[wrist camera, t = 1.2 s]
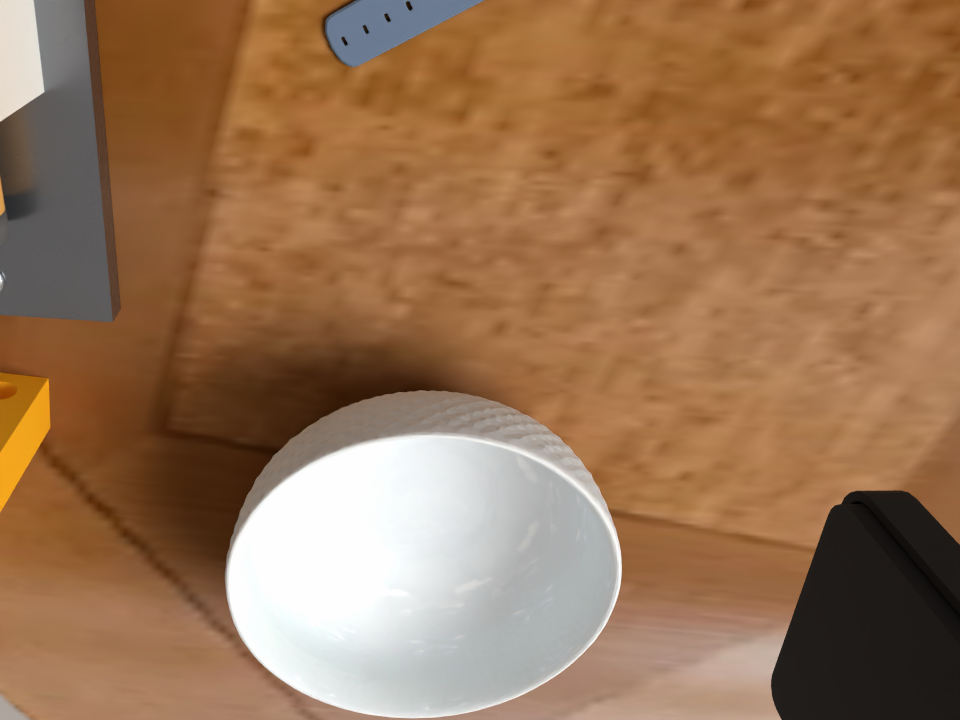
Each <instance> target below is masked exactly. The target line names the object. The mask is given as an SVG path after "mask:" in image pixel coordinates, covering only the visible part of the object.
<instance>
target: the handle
mask: <svg viewBox="0 0 960 720" xmlns="http://www.w3.org/2000/svg"><path fill="white" fill-rule="evenodd" d="M9 237H10V232H9V226H8V219H7V212H6V207H5V205H4V199H3V192H2V185H1V179H0V245H2V244H4V243H5V242H6V241H7V240H8V239H9Z"/></svg>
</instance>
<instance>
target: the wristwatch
mask: <svg viewBox="0 0 960 720" xmlns="http://www.w3.org/2000/svg"><path fill="white" fill-rule="evenodd" d="M407 1H409V2H410V4H411V6H412V9H411V10H409V9H408V7H407V6H406V2H407ZM482 1H484V0H355V1H354V2H352V3H350V4H348V5H347V6H345V7H343V8H341V9H340V10H338V11H336V12H334V13H333V14H331V15H330V16H329V17H328V18H327V19H326V24H325V34H326V36H327V39H328V41H329V44H330V46H331V48H332V50H333V51H334V53H335V54H336V55H337V57H338V58H339V59H340V61H341V62H343V63H345V64H346V65H348V66H351V67H356V66H359V65H361V64H363V63H365V62H367V61H368V60H370V59H372V58H374V57H376V56H378V55H380V54H382V53H384V52H386V51H388V50H390V49H391V48H393V47H395V46H397V45H399V44H401V43H403V42H405V41H407V40H409V39H411V38H413V37H415V36H416V35H418V34H420V33H422V32H424V31H426V30H428V29H430V28H432V27H434V26H436V25H438V24H440V23H441V22H443V21H445V20H447V19H449V18H451V17H453V16H455V15H457V14H459V13H461V12H463V11H464V10H466V9H468V8H470V7H472V6H474V5H476V4H478V3H480V2H482ZM386 13H387V14H388V16H389V18H390V19H391V20H390V21H387V20H386V18H385V16H384V14H386ZM363 25H366V27H367V29H368V31H369V33H366V32H365V30H364V28H363ZM341 37H345V40H346V41H347V43H348V44H347V45H345V44H344V42H343V40H342V38H341Z"/></svg>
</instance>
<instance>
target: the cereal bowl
mask: <svg viewBox="0 0 960 720" xmlns="http://www.w3.org/2000/svg"><path fill="white" fill-rule="evenodd" d="M621 573H622V561H621V551H620V545H619V541H618V537H617V533H616V528H615V526H614V524H613V521H612V518H611V515H610V513H609V511H608V508H607V505H606V502H605V500H604V498H603V497H602V496H601V493H600V490H599V487H598V486H597V485H596V484H595V482H594V480H593V478H592V475H591V473H590V472H588V471H587V469H586V468H585V467H584V465H583V463H582V461H581V460H580V458H578V457H577V456H576V455H575V454H574V452H573V451H572V450H571V448H570V447H569V446H567V445H566V444H564V442H563V441H562V440H561V439H560V437H559V436H557V435H555V434H553V433H552V432H551V431H550V430H549V429H548V428H547V427H546V426H544V425H542V424H540V423H539V422H537V421H536V420H535V419H533V418H531V417H529V416H528V415H525V414H523V413H521V412H519V411H518V410H516V409H513V408H511V407H508V406H506V405H504V404H501V403H499V402H496V401H491V400H488V399H486V398H481V397H479V396H472V395H468V394H466V393H464V394H461V393H458V392H448V391H433V390H432V391H423V390H419V391H415V392H412V391H409V392H397V393H394V394H385V395H383V396H376V397H374V398H371V399H365V400H362V401H360V402H357V403H353V404H350V405H349V406H347V407H342V408H340V409H339V410H336V411H334V412H333V413H330V414H329V415H328V416H325V417H321V418H320V419H319V420H318V421H317V422H315V423H314V424H312V425H309V426H308V427H307V428H305V429H304V430H303V431H302V432H301V433H299V434H298V435H297V436H295V437H293V438H291V439H290V440H289V442H288V443H286V445H285V446H284V447H283V448H282V449H281V450H279V451H278V453H276V454H275V455H273V457H272V459H271V461H270V462H269V463H268V464H267V465H266V466H265V467H264V469H263V471H262V472H261V474H260V475H259V476H258V477H257V478H256V480H255V482H254V485H253V487H252V489H251V491H250V492H249V493H248V494H247V497H246V499H245V502H244V505H243V507H242V508H241V510H240V513H239V518H238V520H237V522H236V524H235V527H234V533H233V535H232V537H231V541H230V548H229V550H228V553H227V559H226V570H225V585H226V595H227V601H228V605H229V610H230V613H231V617H232V619H233V622H234V625H235V627H236V629H237V631H238V633H239V635H240V637H241V638H242V640H243V642H244V643H245V645H246V646H247V647H248V649H249V650H250V651H251V652H252V654H253V655H254V656H255V657H256V658H257V659H258V661H259V662H260V663H261V664H262V665H264V666H265V667H266V668H267V669H268V670H269V671H270V672H272V673H273V674H274V675H275V676H277V677H278V678H279V679H281V680H282V681H284V682H285V683H287V684H288V685H290V686H291V687H293V688H295V689H297V690H298V691H300V692H302V693H304V694H306V695H308V696H310V697H312V698H314V699H317V700H319V701H322V702H324V703H327V704H330V705H333V706H336V707H339V708H342V709H346V710H350V711H354V712H359V713H364V714H369V715H376V716H385V717H394V718H433V717H443V716H451V715H457V714H463V713H468V712H473V711H477V710H480V709H484V708H487V707H491V706H494V705H497V704H501V703H503V702H506V701H508V700H511V699H513V698H516V697H518V696H520V695H523V694H525V693H527V692H529V691H531V690H533V689H535V688H536V687H538V686H540V685H542V684H543V683H545V682H547V681H548V680H550V679H551V678H553V677H554V676H556V675H557V674H559V673H560V672H562V671H563V670H564V669H566V668H567V667H568V666H569V665H571V664H572V663H573V662H574V661H575V660H576V659H577V658H578V657H580V656H581V655H582V654H583V653H584V652H585V651H586V650H587V648H588V647H589V646H590V645H591V644H592V643H593V642H594V641H595V639H596V638H597V637H598V635H599V634H600V632H601V631H602V629H603V628H604V626H605V624H606V623H607V621H608V619H609V617H610V615H611V613H612V610H613V608H614V606H615V603H616V600H617V597H618V593H619V589H620V584H621Z"/></svg>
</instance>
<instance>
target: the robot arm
mask: <svg viewBox="0 0 960 720" xmlns="http://www.w3.org/2000/svg"><path fill="white" fill-rule="evenodd" d="M771 689H772V697H773V701H774V704H775V707H776V709H777V711H778V713H779V715H780V717H781V719H782V720H960V545H959V544H958V543H957V542H956V541H955V540H954V538H953V537H952V536H951V535H950V534H949V533H948V532H947V531H946V530H945V529H944V528H943V527H942V526H941V525H940V523H939V522H938V521H937V520H936V519H935V518H934V517H933V516H932V515H931V514H930V513H929V512H928V511H927V510H926V509H925V507H924V506H923V505H922V504H921V503H920V502H919V501H918V500H917V499H916V498H915V497H914V496H912V495H911V494H910V493H908V492H904V491H855V492H851V493H849V494H848V495H847V496H846V497H845V498H844V500H843V502H842V504H840V505H835V506H834V507H833V508H832V509H831V511H830V513H829V515H828V517H827V520H826V523H825V526H824V528H823V531H822V534H821V537H820V540H819V543H818V546H817V548H816V551H815V554H814V557H813V560H812V563H811V566H810V568H809V571H808V574H807V577H806V580H805V583H804V585H803V588H802V591H801V594H800V597H799V600H798V603H797V605H796V608H795V611H794V614H793V617H792V620H791V623H790V625H789V628H788V631H787V634H786V637H785V640H784V642H783V645H782V648H781V651H780V654H779V657H778V660H777V662H776V665H775V668H774V671H773V674H772V679H771Z"/></svg>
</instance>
